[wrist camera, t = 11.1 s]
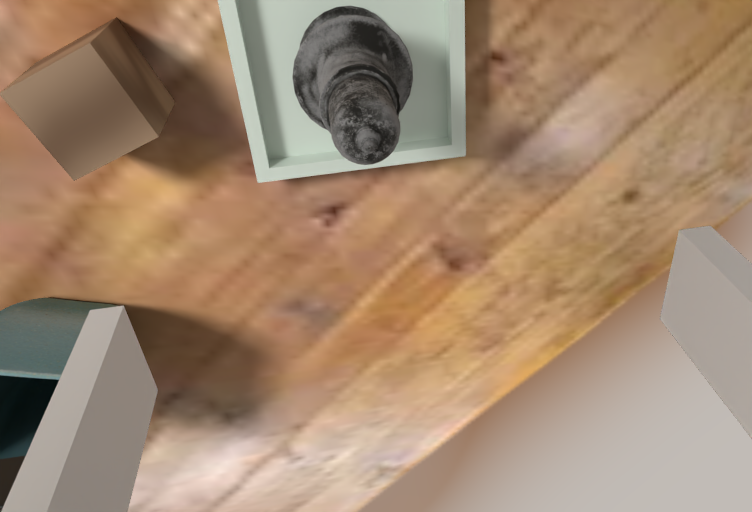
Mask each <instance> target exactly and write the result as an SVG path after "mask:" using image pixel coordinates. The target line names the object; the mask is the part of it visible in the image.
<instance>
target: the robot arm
mask: <svg viewBox="0 0 752 512" xmlns="http://www.w3.org/2000/svg"><path fill="white" fill-rule="evenodd" d="M660 320H661V321H662V322H663V324H664V325H665V326H666V328H667V329H668V330H669V332H670V333H671V334H672V336H673V337H674V338H675V339H676V341H677V342H678V343H679V345H680V346H681V347H682V348H683V350H684V351H685V352H686V354H687V355H688V356H689V358H690V359H691V360H692V362H693V363H694V364H695V365H696V367H697V368H698V369H699V371H700V372H701V373H702V375H703V376H704V377H705V379H706V380H707V381H708V382H709V384H710V385H711V386H712V388H713V389H714V390H715V392H716V393H717V394H718V395H719V397H720V398H721V399H722V401H723V402H724V403H725V405H726V406H727V407H728V409H729V410H730V411H731V412H732V414H733V415H734V416H735V418H736V419H737V420H738V421H739V423H740V424H741V425H742V427H743V428H744V429H745V431H746V432H747V433H748V435H749V436H750V437H751V439H752V264H751V263H750V262H749V261H748V260H747V259H746V258H745V257H744V256H743V255H741V253H739V252H738V251H737V250H736V249H735V248H734V247H733V246H732V245H731V244H730V243H729V242H727V241H726V240H725V239H724V238H723V237H722V236H721V235H720V234H719V233H717V231H716V230H714V229H713V228H712V227H711V226H704V227H697V228H690V229H682V230H679V233H678V237H677V242H676V247H675V251H674V256H673V260H672V265H671V270H670V274H669V279H668V283H667V288H666V293H665V297H664V302H663V306H662V311H661V316H660ZM157 392H158V389H157V386H156V384H155V381H154V379H153V376H152V374H151V371H150V369H149V367H148V364H147V362H146V359H145V357H144V354H143V352H142V349H141V347H140V344H139V342H138V339H137V337H136V335H135V332H134V330H133V327H132V325H131V322H130V320H129V317H128V315H127V312H126V310H125V307H124V306H117V307H109V308H102V309H95V310H90V311H89V314H88V316H87V318H86V320H85V323H84V325H83V327H82V330H81V332H80V334H79V336H78V339H77V341H76V343H75V345H74V348H73V350H72V352H71V354H70V357H69V359H68V361H67V364H66V366H65V368H64V370H63V373H62V375H61V377H60V379H59V382H58V384H57V386H56V388H55V391H54V393H53V395H52V397H51V400H50V402H49V404H48V407H47V409H46V411H45V413H44V416H43V418H42V420H41V422H40V425H39V427H38V429H37V431H36V434H35V436H34V438H33V441H32V443H31V445H30V447H29V450H28V452H27V454H26V456H19V457H12V458H5V459H0V512H127V511H128V507H129V503H130V499H131V495H132V491H133V487H134V483H135V479H136V476H137V472H138V468H139V464H140V460H141V456H142V452H143V448H144V444H145V440H146V436H147V432H148V428H149V424H150V420H151V416H152V412H153V408H154V404H155V400H156V396H157Z"/></svg>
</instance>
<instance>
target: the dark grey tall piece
mask: <svg viewBox="0 0 752 512" xmlns="http://www.w3.org/2000/svg"><path fill="white" fill-rule="evenodd" d="M292 78H293V85H294V91H295V95H296V97H297V99H298V101H299V104H300V106H301V108H302V109H303V110H304V112H305V113H306V114H307V115H308V117H309V118H310V119H311V120H312V121H314V122H315V123H317V124H318V125H319V126H321V127H322V128H324V129H326V130H328V131H329V132H330V133H331V136H332V140H333V143H334V145H335V147H336V148H337V150H338V151H339V152H340V154H341V155H342V156H343V157H345V158H346V159H347V160H349V161H351V162H353V163H356V164H361V165H370V164H375V163H378V162H381V161H383V160H384V159H386V158H387V157H388V156H389V155H390V154H391V153H392V152H393V151H394V150H395V148H396V146H397V144H398V141H399V136H400V121H399V118H398V117H399V113H400V111H401V110H402V109H403V107H404V106H405V104H406V102H407V100H408V98H409V96H410V92H411V87H412V83H413V65H412V61H411V58H410V55H409V52H408V49H407V47H406V46H405V44H404V43H403V41H402V40H401V38H400V37H399V35H398V34H396V33H395V32H394V31H393V30H392V29H391V28H390V27H389V26H387V24H386V23H385V22H384V21H383V20H382V19H381V18H380V17H378V16H377V15H376V14H375V13H373V12H371V11H369V10H367V9H364V8H361V7H355V6H341V7H335V8H333V9H330V10H328V11H325V12H323V13H322V14H321V15H319V16H318V17H317V18H316V19H314V20H313V21H312V23H311V24H310V25H309V26H308V28H307V29H306V30H305V32H304V35H303V37H302V40H301V42H300V48H299V50H298V53H297V55H296V58H295V60H294V67H293V76H292Z"/></svg>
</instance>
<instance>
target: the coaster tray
mask: <svg viewBox="0 0 752 512" xmlns="http://www.w3.org/2000/svg"><path fill="white" fill-rule="evenodd" d="M218 3H219V8H220V13H221V17H222V22H223V26H224V31H225V35H226V40H227V44H228V49H229V54H230V58H231V63H232V67H233V72H234V76H235V81H236V85H237V90H238V95H239V99H240V104H241V108H242V113H243V117H244V122H245V127H246V131H247V136H248V140H249V145H250V149H251V154H252V158H253V163H254V168H255V172H256V177H257V181H258V183H261V182H268V181H276V180H284V179H292V178H299V177H307V176H315V175H323V174H331V173H338V172H346V171H354V170H362V169H369V168H377V167H385V166H393V165H400V164H408V163H416V162H424V161H432V160H439V159H447V158H455V157H463V156H466V101H465V0H218ZM341 6H355V7H361V8H364V9H367V10H369V11H371V12H373V13H375V14H376V15H377V16H378V17H380V18H381V19H382V20H383V21H384V22H385V23H386V24H387V26H389V27H390V28H391V29H392V30H393V31H394V32H395V33H396V34H398V35H399V37H400V38H401V40H402V41H403V43H404V44H405V46H406V47H407V49H408V52H409V55H410V58H411V61H412V65H413V83H412V87H411V92H410V96H409V98H408V100H407V102H406V104H405V106H404V107H403V109H402V110H401V111H400V113H399V117H398V118H399V121H400V136H399V141H398V144H397V146H396V148H395V150H394V151H393V152H392V153H391V154H390V155H389V156H388V157H387V158H386V159H384V160H383V161H381V162H378V163H375V164H370V165H361V164H356V163H353V162H351V161H349V160H347V159H346V158H345V157H343V156H342V155H341V154H340V152H339V151H338V150H337V148H336V147H335V145H334V143H333V140H332V136H331V133H330V132H329V131H328V130H326V129H324V128H322V127H321V126H319V125H318V124H317V123H315V122H314V121H312V120H311V119H310V118H309V117H308V115H307V114H306V113H305V112H304V110H303V109H302V108H301V106H300V104H299V101H298V99H297V97H296V95H295V91H294V85H293V78H292V76H293V67H294V60H295V58H296V55H297V53H298V50H299V48H300V42H301V40H302V37H303V35H304V32H305V30H306V29H307V28H308V26H309V25H310V24H311V23H312V21H313V20H314V19H316V18H317V17H318V16H319V15H321V14H322V13H323V12H325V11H328V10H330V9H333V8H335V7H341Z"/></svg>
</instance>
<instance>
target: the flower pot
mask: <svg viewBox="0 0 752 512" xmlns="http://www.w3.org/2000/svg"><path fill="white" fill-rule="evenodd" d="M109 307H117V305H113V304H104V303H93V302H81V301H72V300H63V299H54V298H39V299H33V300H28V301H24V302H20V303H17V304H14V305H12V306H9V307H7V308H5V309H3V310H1V311H0V459H5V458H12V457H19V456H26V454H27V452H28V450H29V447H30V445H31V443H32V441H33V438H34V436H35V434H36V431H37V429H38V427H39V425H40V422H41V420H42V418H43V416H44V413H45V411H46V409H47V407H48V404H49V402H50V400H51V397H52V395H53V393H54V391H55V388H56V386H57V384H58V382H59V379H60V377H61V375H62V373H63V370H64V368H65V366H66V364H67V361H68V359H69V357H70V354H71V352H72V350H73V348H74V345H75V343H76V341H77V339H78V336H79V334H80V332H81V330H82V327H83V325H84V323H85V320H86V318H87V316H88V314H89V311H90V310H95V309H102V308H109Z"/></svg>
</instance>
